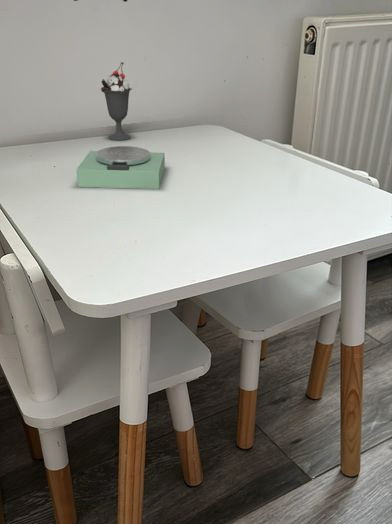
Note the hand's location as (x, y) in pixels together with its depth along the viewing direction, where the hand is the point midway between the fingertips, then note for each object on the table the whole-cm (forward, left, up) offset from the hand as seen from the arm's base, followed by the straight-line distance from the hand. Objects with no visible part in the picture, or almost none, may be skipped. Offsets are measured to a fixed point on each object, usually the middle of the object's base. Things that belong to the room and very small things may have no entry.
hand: (100, 0), depth 111 cm
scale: (+7, -30, -26) cm, 40 cm away
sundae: (+2, -1, -26) cm, 26 cm away
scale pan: (+7, -29, -23) cm, 37 cm away
